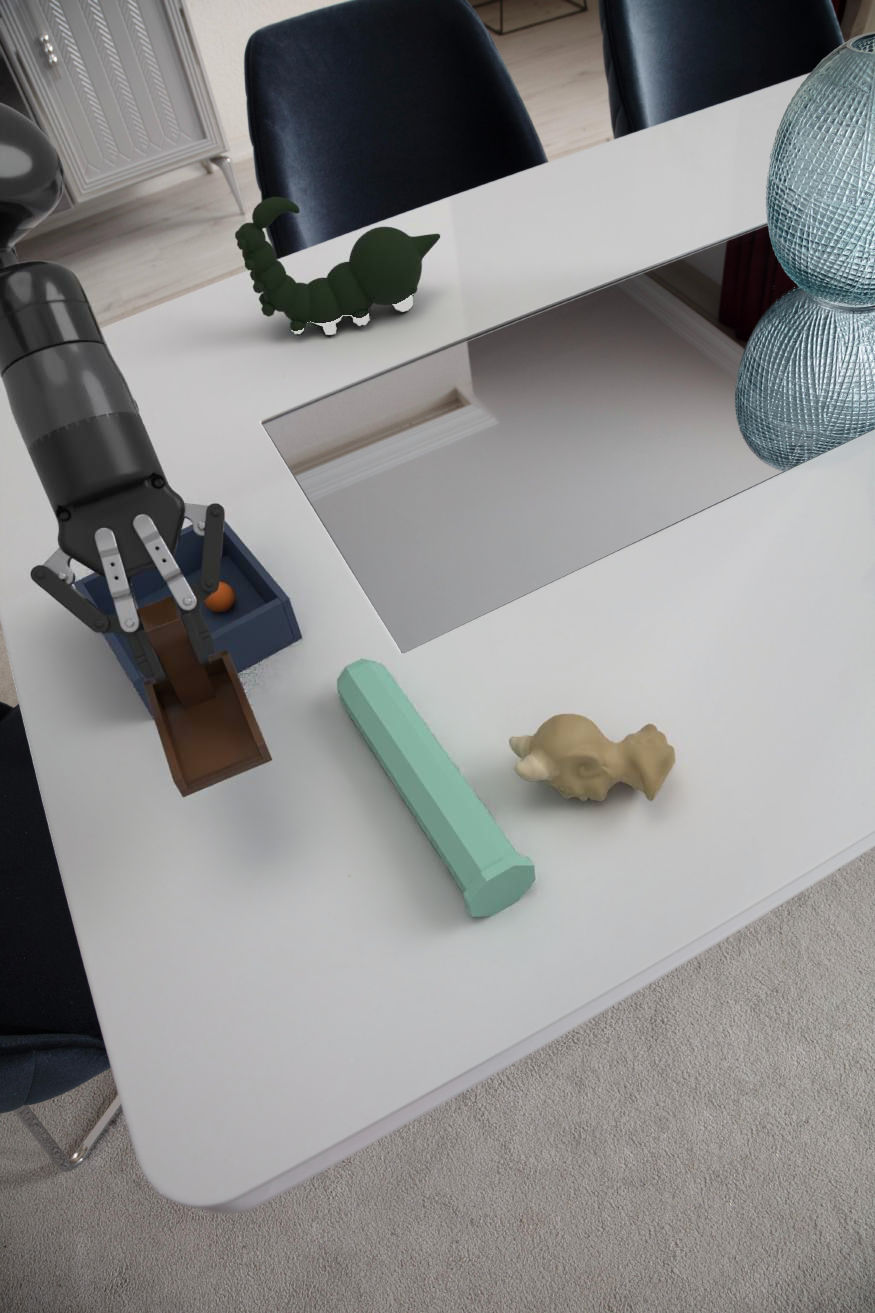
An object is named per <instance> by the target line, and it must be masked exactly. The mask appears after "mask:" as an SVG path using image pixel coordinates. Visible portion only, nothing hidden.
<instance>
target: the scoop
mask: <svg viewBox="0 0 875 1313" xmlns="http://www.w3.org/2000/svg"><path fill="white" fill-rule="evenodd" d="M138 612H139V615H140V618H141V621H142V624H143V627H144V630H145V633H146V635H147V637H148V639H149V641H150V643H151V645H152V647H153V648H154V650H155V652H156V654H157V656H158V658H159V660H160V662H161V664H162V665H163V667H164V669H165V671H166V673H167V675H168V678H169V680H167V681H165V682H162V683H159V684H157V682H156V680H155V678H152V679H149V680H147V681H144V682H143V685H144V688H145V691H146V694H147V697H148V701H149V704H150V707H151V710H152V714H153V717H154V719H153V720H154V724H155V726H156V730H157V734H158V737H159V739H160V743H161V746H162V749H163V752H164V756H165V759H166V762H167V765H168V768H169V772H170V775H171V778H172V781H173V783H174V785H175V786H176V788H177V790H178V792H179V794H180V796H181V797H182V798H186V797H188V796H190V795H193V794H196V793H199V792H201V791H202V790H205V789H207V788H210V787H213V786H215V785H217V784H219V783H222V782H224V781H227V780H229V779H232V778H233V777H236V776H238V775H241V774H243V773H245V772H248V771H250V770H253V769H255V768H257V767H259V766H260V767H261V766H263V765H265V764H268V763H270V762H272V761H273V757H272V755H271V752H270V750H269V748H268V745H267V743H266V741H265V738H264V735H263V732H262V730H261V728H260V725H259V723H258V721H257V718H256V716H255V713H254V710H253V708H252V706H251V703H250V701H249V698H248V695H247V694H246V691H245V688H244V686H243V683H242V681H241V679H240V676H239V673H237V671H236V668H235V666H234V664H233V661H232V659H231V656H230V654H229V652H228V650H227V649H226V650H224V651H221V652H219V653H216V654H213V655H211V656H209V659H210V661H211V664H208V665H206V666H203V667H201V666H200V664H199V662H198V659H197V657H196V654H195V652H194V650H193V647H192V645H191V642H190V640H189V638H188V634H187V631H186V629H185V626H184V624H183V622H182V619H181V617H180V616H181V614H180V612H179V610H178V608H177V605H176V603H175V601H174V599H173V597H172V596H171V597H168V598H165V599H163V600H160V601H157V602H155V603H152V604H149V605H147V606H144V607H141V608H139V609H138Z"/></svg>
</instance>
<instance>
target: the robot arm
mask: <svg viewBox="0 0 875 1313" xmlns="http://www.w3.org/2000/svg"><path fill="white" fill-rule="evenodd" d="M64 190H65V170H64V166H63V163H62V160H61V157H60V155H59V153H58V151H57V149H56V147H55V146H54V143H53V142H52V141H51V140H50V139H49V137H48V136H47V135H46V134H45V133H44V131H42V129H41V128H40V127H39V126H38V125H37V124H36V123H35V122H33V121H32V120H30V118H28V117H27V116H25V115H24V114H22V113H20V111H18V110H16V109H14V108H13V107H11V106H9V105H7V104H5V103H3V102H0V378H1V381H2V383H3V386H4V389H5V392H6V396H7V400H8V404H9V407H10V410H11V414H12V417H13V420H14V422H15V424H16V427H17V429H18V431H19V434H20V436H21V438H22V441H23V443H24V445H25V447H26V450H27V452H28V455H29V458H30V461H31V462H32V465H33V466H34V469H35V472H36V474H37V476H38V478H39V481H40V483H41V485H42V488H43V490H44V493H45V495H46V498H47V499H48V502H49V505H50V507H51V509H52V512H53V514H54V517H55V519H56V521H57V527H58V533H57V545H58V548H57V549H56V550H55V551H54V552H53V553H52V554H51V556H49V557H48V558H47V560H46V561H45V562H44V563H43V564H37V565H35V566H33V567H32V569H31V570H30V573H29V574H30V578H31V580H32V581H33V582H34V583H35V584H36V585H37V586H39V587H40V588H41V589H42V590H43V591H45V593H47V594H48V595H49V596H51V597H52V598H53V599H54V600H55V601H57V603H59V604H60V605H61V606H62V607H63V608H65V609H66V610H67V611H68V612H70V613H71V614H72V615H73V616H74V617H76V618H77V619H78V620H79V621H80V622H81V623H83V624H84V625H85V626H86V627H87V628H89V629H90V630H91V631H92V632H94V633H96V634H102V633H120V634H122V635H124V636H125V637H126V639H127V640H128V643H129V645H130V648H131V650H132V652H133V655H134V657H135V659H136V662H137V664H138V666H139V669H140V671H141V673H142V674H143V675H144V676H145V677H146V678H150V677H153V676H154V678H155V680H156V682H157V684H159V683H162V682H165V681H167V680H169V678H168V675H167V673H166V671H165V669H164V667H163V665H162V664H161V662H160V660H159V658H158V656H157V654H156V652H155V650H154V648H153V647H152V645H151V643H150V641H149V639H148V637H147V635H146V633H145V630H144V627H143V624H142V621H141V618H140V615H139V612H138V609H139V608H138V604H137V601H136V596H135V591H134V588H133V584H132V579H134V578H136V577H137V576H138V575H140V574H141V573H143V572H146V571H156V570H159V571H160V573H161V575H162V577H163V578H164V580H165V582H166V583H167V585H168V587H169V589H170V590H171V592H172V594H173V596H174V597H175V599H176V601H177V603H178V606H179V608H180V611H181V613H182V615H181V616H180V617H181V619H182V622H183V624H184V626H185V629H186V631H187V634H188V638H189V640H190V642H191V645H192V647H193V650H194V652H195V654H196V657H197V659H198V662H199V664H200V666H201V667H203V666H206V665H208V664H211V661H210V659H209V656H208V655H209V654H212V653H214V652H215V644H214V641H213V639H212V637H211V634H210V632H209V629H208V627H207V625H206V622H205V620H204V617H203V615H202V612H201V605H202V603H203V602H204V600H206V599H207V598H208V597H209V596H210V595H211V594H213V593H215V592H216V591H217V590H218V588H219V579H220V567H221V556H222V544H223V533H224V521H226V520H225V519H226V511H225V508H224V507H223V506H222V504H220V503H216V502H214V503H210V504H209V505H205V504H196V503H190V502H189V503H188V502H185V500H184V499H183V497H182V496H181V495H180V494H179V493H177V492H176V490H174V489H173V488H172V487H171V485H170V484H169V481H168V479H167V476H166V474H165V472H164V470H163V467H162V464H161V462H160V460H159V457H158V455H157V453H156V450H155V448H154V445H153V443H152V440H151V437H150V435H149V433H148V431H147V428H146V426H145V424H144V422H143V418H142V416H141V413H140V409H139V405H138V403H137V401H136V400H135V398H134V397H133V394H132V392H131V389H130V386H129V385H128V382H127V380H126V378H125V376H124V375H123V372H122V370H121V368H120V367H119V366H118V364H117V362H116V360H115V358H114V357H113V354H112V353H111V351H110V350H111V349H109V347H108V344H107V341H106V339H105V337H104V334H103V331H102V329H101V326H100V323H99V322H98V319H97V317H96V314H95V312H94V310H93V307H92V304H91V302H90V299H89V297H88V295H87V292H86V290H85V289H84V287H83V285H82V284H81V282H80V280H79V278H78V277H77V275H76V274H75V273H74V272H73V271H72V270H71V269H69V268H68V267H67V266H66V265H63V264H61V263H60V262H56V261H52V260H51V261H50V260H40V259H39V260H29V261H23V262H21V260H20V258H19V256H18V254H17V250H16V246H15V244H17V243H18V242H19V241H20V240H21V239H23V237H25V236H26V235H27V234H28V233H30V231H32V230H33V229H34V228H35V227H36V226H37V225H39V224H40V223H41V222H42V221H44V220H45V219H46V218H48V216H50V214H52V212H53V211H54V210H55V209H56V207H57V206H58V204H59V203H60V201H61V199H62V196H63V194H64ZM185 519H186V520H189V521H190V522H191V525H192V524H193V529H194V532H195V534H196V535H198V536H200V537H204V542H203V554H202V566H201V577H200V579H199V580H198V581H197V582H196V583H195V584H193V585H192V586H191V587H190V586H189V584H188V582H187V581H186V579H185V577H184V575H183V573H182V572H181V570H180V568H179V566H178V565H177V563H176V561H175V559H174V556H175V553H176V550H177V546H178V542H179V538H180V534H181V530H182V529H183V527H184V524H185V523H184V522H185ZM72 560H74V561H76V562H77V563H79V564H81V565H82V566H84V567H86V568H87V569H88V570H90V571H92V572H93V573H94V572H95V573H97V574H99V575H100V576H102V577H103V578H105V579H107V582H108V586H109V589H110V593H111V596H112V598H113V601H114V604H115V608H116V611H117V614H114V615H106V614H105V613H104V612H103V611H101V610H100V609H99V608H98V607H97V606H96V605H94V604H93V603H92V602H91V601H90V600H88V599H87V598H86V597H85V596H84V595H82V594H81V593H80V592H79V591H78V590H77V589H76V588H75V586H74V584H73V583H74V582H76V580H77V579H76V574H75V572H74V571H73V569H72V568H71V561H72Z"/></svg>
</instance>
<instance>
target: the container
mask: <svg viewBox="0 0 875 1313" xmlns="http://www.w3.org/2000/svg"><path fill="white" fill-rule="evenodd" d="M336 689H337V690H336V691H337V693H338V695H339V699H340V702H341V704H342V706H343V707H344V709H345V710H346V712H347V713H348V715H349V716H350V719H352V721H353V723H354V724H355V726H356V728H357V729H358V730H359V733H360V734H361V735H362V737H363V738H364V740H365V741H366V743H367V744H368V746H369V747H370V749H371V751H372V752H373V754H374V756H375V757H376V758H377V760H378V762H379V763H380V765H381V766H382V768H383V770H384V771H385V773H386V774H387V776H388V777H389V778H390V780H391V782H392V783H393V785H394V787H395V788H396V790H397V791H398V794H400V796H401V798H402V800H404V802H405V805H407V807H408V809H409V810H410V811H411V813H412V815H413V816H414V817H415V819H416V821H417V823H418V824H419V825H420V827H421V829H422V830H423V832H424V833H425V835H426V836H427V838H428V839H429V841H430V842H431V844H432V846H433V847H434V849H435V850H436V852H437V854H438V855H439V856H440V857H439V858H441V860H442V861H443V863H444V865H445V866H446V867H447V869H448V871H449V872H450V874H451V876H452V877H453V879H454V880H455V882H456V883H457V885H458V887H459V888H460V889H461V891H462V895H463V900H464V904H465V909H466V910H467V912H468V914H469V915H470V916H471V918H480V917H492V916H495V915H496V914H498V913H500V912H501V911H503V910H504V909H506V908H509V907H510V906H511V905H513V904H515V903H516V902H519V900H520V899H521V898H522V897H523V896H524V895H525V893H526V892H527V891H528V890H529V888H530V887H531V886H532V885H533V884H534V883H535V882H536V871H535V870H536V868H535V864H534V862H533V861H532V860H531V858H530V857H529V856H525V855H523V856H521V855H520V854H519V853H518V851H517V850H516V848H515V846H514V845H513V844H512V843H511V840H509V838H508V837H507V836H506V835H505V832H504V831H503V830H502V829H501V828H500V826H499V824H498V822H496V820H495V819H494V817H493V816H492V814H490V812H489V811H488V809H487V807H486V806H485V805H484V803H483V802H482V800H481V799H480V798H479V797H478V795H477V793H476V792H475V791H474V789H473V788H472V787H471V785H470V784H469V783H468V781H467V779H466V778H465V777H464V775H463V774H462V772H461V771H460V770H459V768H458V766H457V765H456V764H455V763H454V761H453V759H452V758H451V757H450V756H449V754H448V753H447V751H446V750H445V748H444V747H443V746H442V744H441V743H440V741H439V740H438V739H437V738H436V735H434V733H433V732H432V730H431V729H430V728H429V726H428V724H427V723H426V722H425V720H424V719H423V718H422V716H421V715H420V713H419V711H417V708H416V707H414V705H413V703H412V702H411V701H410V698H408V696H407V695H406V694H405V692H404V691H403V690H402V688H401V687H400V685H399V684H398V683H397V681H396V680H395V678H394V677H393V676H392V674H391V673H390V671H389V670H388V669H387V667H386V666H385V665H384V664H382V663H380V662H378V661H375V660H371V659H366V658H359V659H357V660H356V661H353V662H351V663H349V664H348V665H346V666H344V667H343V670H342V671H341V672H340V674H339V676H338V677H337V679H336Z"/></svg>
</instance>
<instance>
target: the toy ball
mask: <svg viewBox="0 0 875 1313" xmlns="http://www.w3.org/2000/svg"><path fill="white" fill-rule="evenodd" d="M234 601H235V594H234V591H233V589H232V588H231V587H230V586H229V585H228V584H226V583H224V582H219V588H218V590H217V591H216V592H215V593H213V594H211V595H210V596H209V597H208V598H207V599H206V600H204V602H205V605H206V606H207V607H208V608H209V609H210V610H212V611H214V612H225V611H227V610H229V609H230V608H231V607H232V605H233V604H234Z"/></svg>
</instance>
